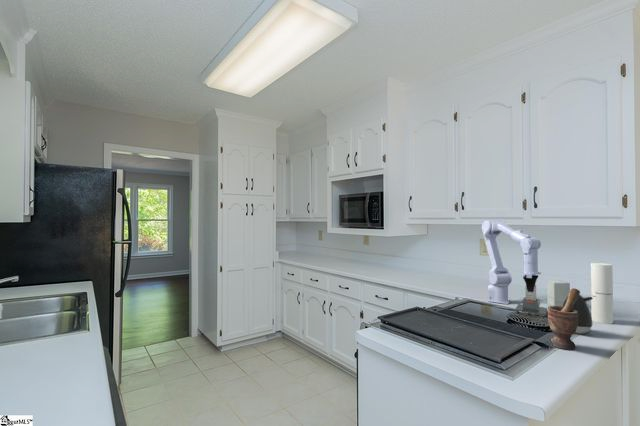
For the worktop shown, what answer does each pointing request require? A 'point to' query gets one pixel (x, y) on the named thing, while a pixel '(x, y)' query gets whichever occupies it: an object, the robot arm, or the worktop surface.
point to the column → (531, 294)
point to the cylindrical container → (602, 293)
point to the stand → (531, 307)
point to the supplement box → (557, 292)
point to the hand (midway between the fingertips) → (530, 290)
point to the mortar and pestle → (564, 322)
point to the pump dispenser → (582, 314)
